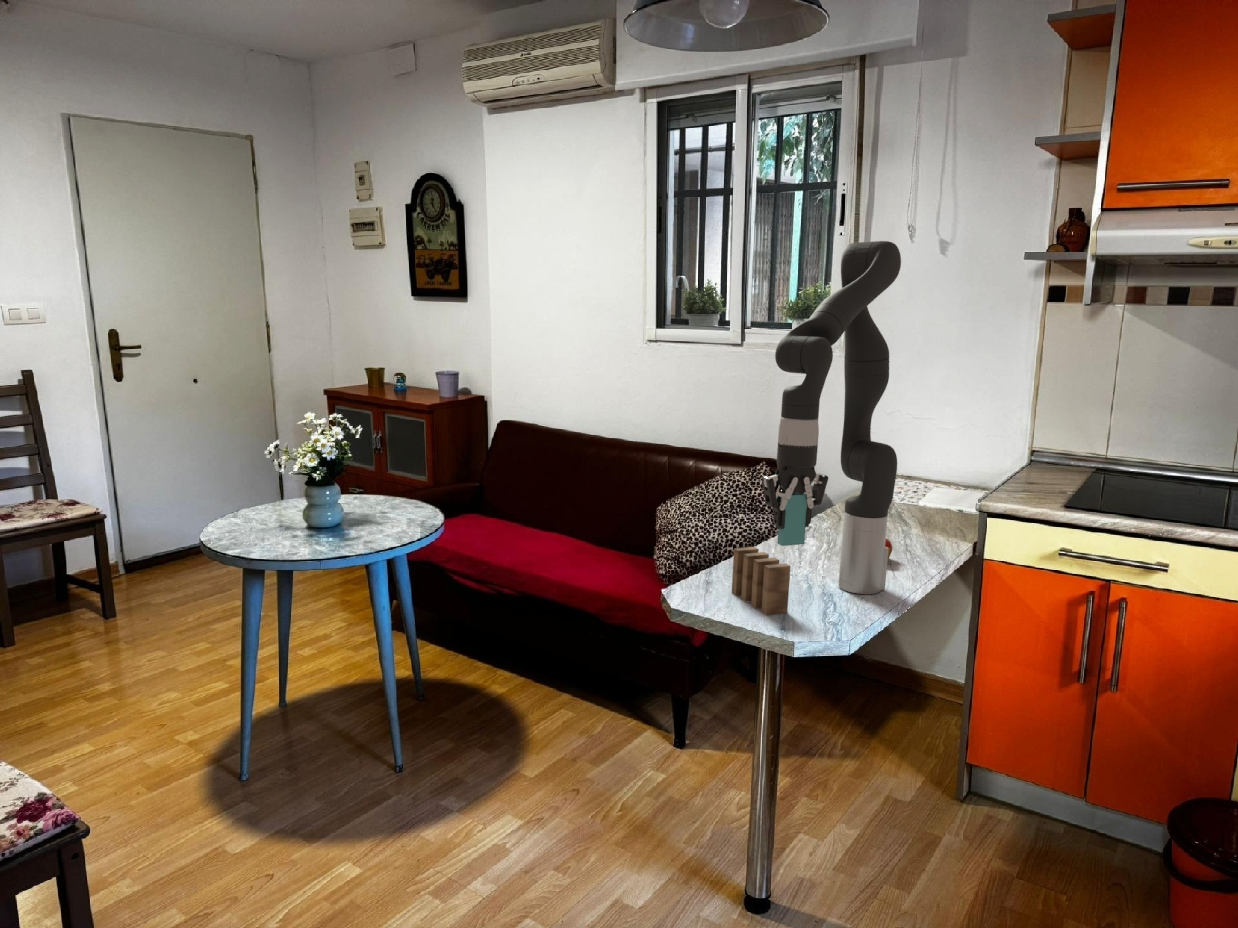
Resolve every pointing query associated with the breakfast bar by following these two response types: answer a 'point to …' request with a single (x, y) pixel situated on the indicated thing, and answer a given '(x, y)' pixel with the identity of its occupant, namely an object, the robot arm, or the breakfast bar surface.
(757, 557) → the domino
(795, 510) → the teal domino
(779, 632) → the breakfast bar surface
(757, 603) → the domino
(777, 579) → the domino
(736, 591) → the domino
